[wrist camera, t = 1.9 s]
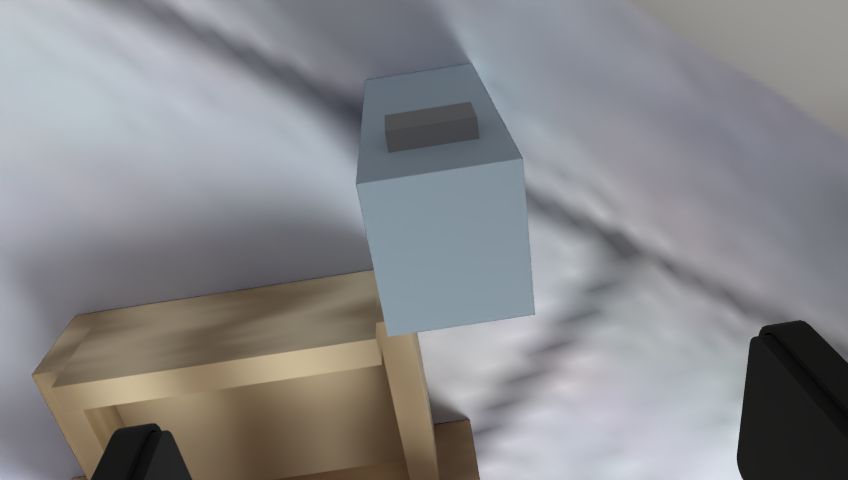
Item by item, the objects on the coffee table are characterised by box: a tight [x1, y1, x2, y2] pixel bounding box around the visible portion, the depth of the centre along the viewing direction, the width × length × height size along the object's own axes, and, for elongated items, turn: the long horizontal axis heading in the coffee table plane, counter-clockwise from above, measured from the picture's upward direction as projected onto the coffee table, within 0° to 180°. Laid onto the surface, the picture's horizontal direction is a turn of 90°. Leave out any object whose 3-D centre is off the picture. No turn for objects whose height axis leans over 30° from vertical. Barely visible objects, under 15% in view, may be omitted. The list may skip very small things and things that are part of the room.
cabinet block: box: [356, 63, 535, 337], centre depth 21 cm, size 4×5×10 cm
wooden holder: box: [32, 270, 480, 480], centre depth 27 cm, size 20×11×9 cm, turn 98°
